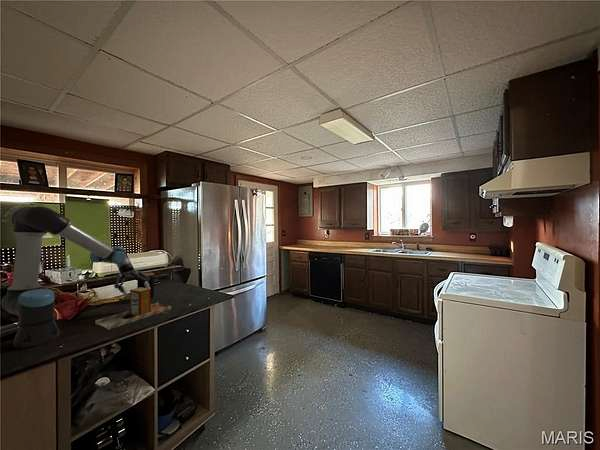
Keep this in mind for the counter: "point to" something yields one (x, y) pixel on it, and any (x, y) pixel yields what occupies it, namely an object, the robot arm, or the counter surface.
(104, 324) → the pad
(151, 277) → the coffee jar
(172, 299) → the counter surface
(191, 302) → the counter surface
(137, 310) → the baking soda box
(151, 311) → the trap pad
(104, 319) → the channel
